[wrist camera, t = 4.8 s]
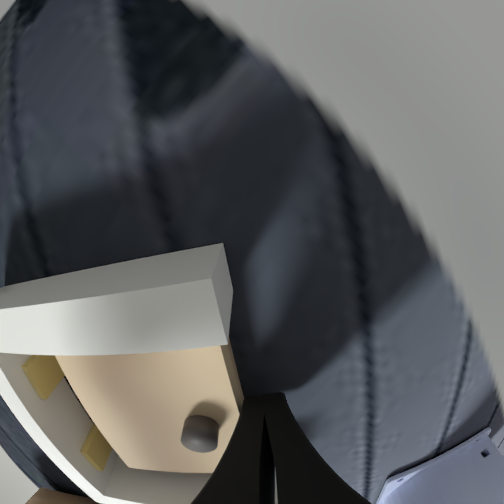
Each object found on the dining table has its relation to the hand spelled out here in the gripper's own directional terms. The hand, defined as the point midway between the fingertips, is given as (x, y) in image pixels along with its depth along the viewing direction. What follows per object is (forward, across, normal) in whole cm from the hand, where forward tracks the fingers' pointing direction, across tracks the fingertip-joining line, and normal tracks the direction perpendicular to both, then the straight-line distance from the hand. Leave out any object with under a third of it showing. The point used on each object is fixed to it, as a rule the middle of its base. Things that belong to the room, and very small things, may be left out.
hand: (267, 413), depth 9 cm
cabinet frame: (+1, +5, 0) cm, 5 cm away
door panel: (+1, +4, 0) cm, 4 cm away
